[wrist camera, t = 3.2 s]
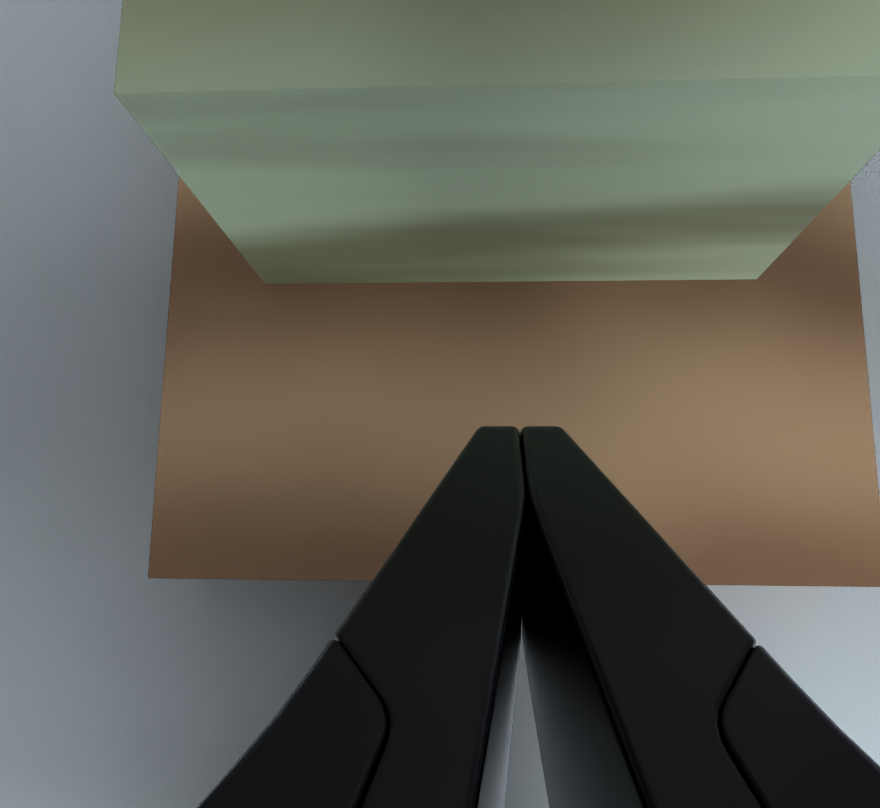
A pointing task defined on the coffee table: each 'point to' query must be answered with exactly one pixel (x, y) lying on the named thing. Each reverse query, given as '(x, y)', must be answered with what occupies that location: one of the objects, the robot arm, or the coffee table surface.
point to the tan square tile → (516, 409)
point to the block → (506, 131)
